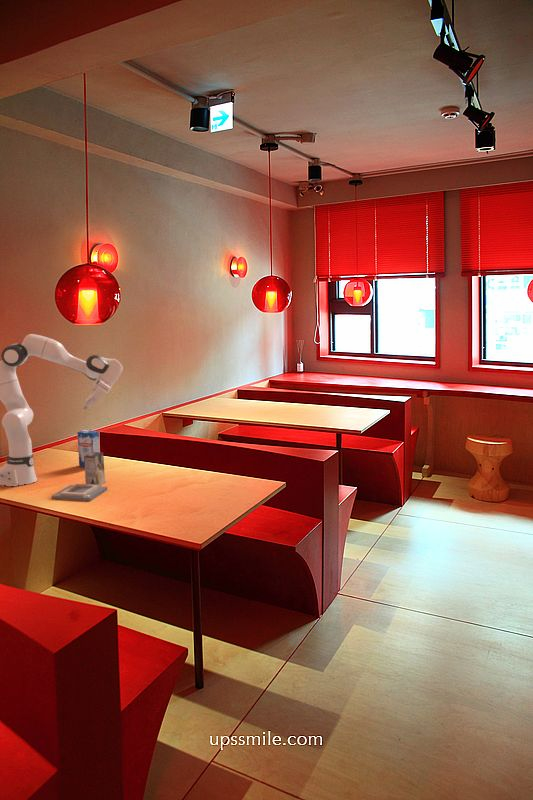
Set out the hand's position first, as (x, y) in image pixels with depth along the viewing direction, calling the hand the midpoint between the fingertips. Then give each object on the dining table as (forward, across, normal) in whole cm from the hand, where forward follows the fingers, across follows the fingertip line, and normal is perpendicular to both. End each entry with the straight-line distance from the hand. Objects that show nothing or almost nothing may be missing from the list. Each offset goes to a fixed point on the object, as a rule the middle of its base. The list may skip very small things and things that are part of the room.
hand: (85, 408), depth 311 cm
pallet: (+37, +5, +21) cm, 43 cm away
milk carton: (+17, -44, +24) cm, 53 cm away
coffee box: (+28, -7, +27) cm, 40 cm away
